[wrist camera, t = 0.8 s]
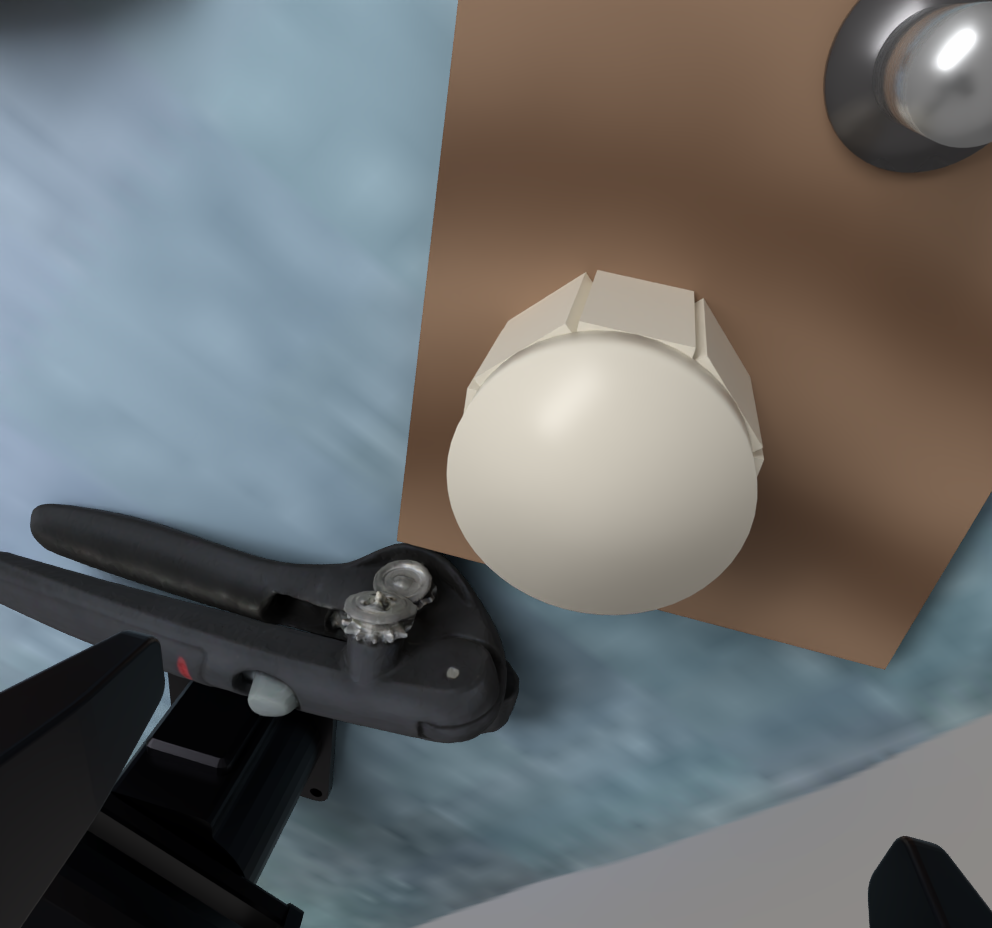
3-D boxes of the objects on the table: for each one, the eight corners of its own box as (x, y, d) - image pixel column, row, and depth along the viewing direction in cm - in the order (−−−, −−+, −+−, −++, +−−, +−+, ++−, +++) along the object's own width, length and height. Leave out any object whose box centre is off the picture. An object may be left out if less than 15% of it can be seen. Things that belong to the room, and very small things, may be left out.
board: (875, 639, 22) (885, 669, 21) (409, 518, 23) (396, 540, 22) (1421, -313, 12) (1492, -345, 11) (524, -430, 13) (511, -468, 12)
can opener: (550, 545, 23) (515, 680, 18) (517, 704, 27) (481, 852, 22) (21, 422, 25) (-135, 515, 20) (57, 585, 29) (-68, 697, 24)
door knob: (962, 176, 16) (1040, 220, 12) (788, 142, 16) (816, 175, 13) (1054, -26, 14) (1177, -42, 11) (856, -60, 15) (910, -87, 11)
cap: (699, 527, 20) (702, 646, 16) (477, 471, 21) (430, 573, 17) (779, 310, 17) (807, 394, 13) (515, 252, 18) (468, 315, 14)
